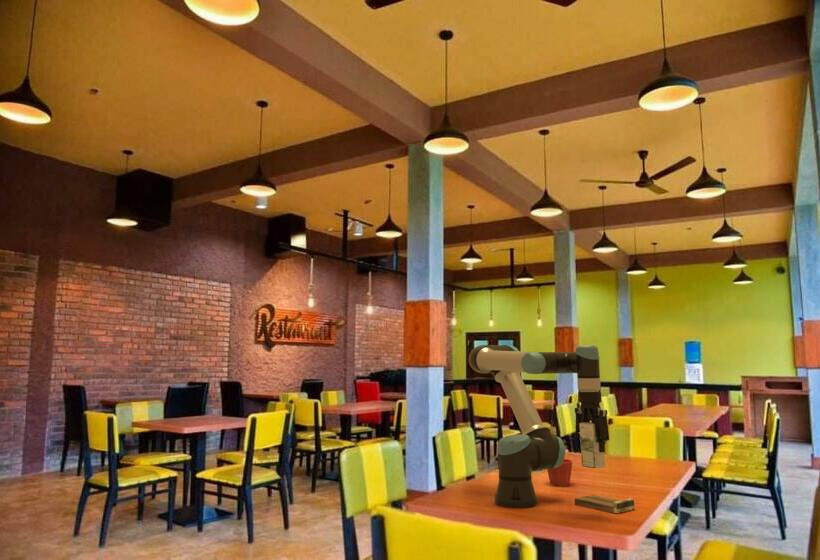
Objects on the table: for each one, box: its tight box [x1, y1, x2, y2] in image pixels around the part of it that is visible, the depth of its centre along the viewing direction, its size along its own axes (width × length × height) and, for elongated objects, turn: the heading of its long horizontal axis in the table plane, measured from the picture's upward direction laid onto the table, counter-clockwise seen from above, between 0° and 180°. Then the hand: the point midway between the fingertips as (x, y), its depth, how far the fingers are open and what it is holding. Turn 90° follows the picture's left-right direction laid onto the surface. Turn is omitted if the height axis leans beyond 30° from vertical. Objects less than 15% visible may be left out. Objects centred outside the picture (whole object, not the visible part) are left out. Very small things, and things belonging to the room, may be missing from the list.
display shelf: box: [574, 494, 636, 514], centre depth 202 cm, size 10×17×4 cm, turn 36°
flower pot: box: [546, 458, 573, 487], centre depth 242 cm, size 11×11×10 cm
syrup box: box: [579, 421, 606, 469], centre depth 196 cm, size 6×6×14 cm
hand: (593, 460), depth 196 cm, fingers closed on syrup box, 6 cm apart
